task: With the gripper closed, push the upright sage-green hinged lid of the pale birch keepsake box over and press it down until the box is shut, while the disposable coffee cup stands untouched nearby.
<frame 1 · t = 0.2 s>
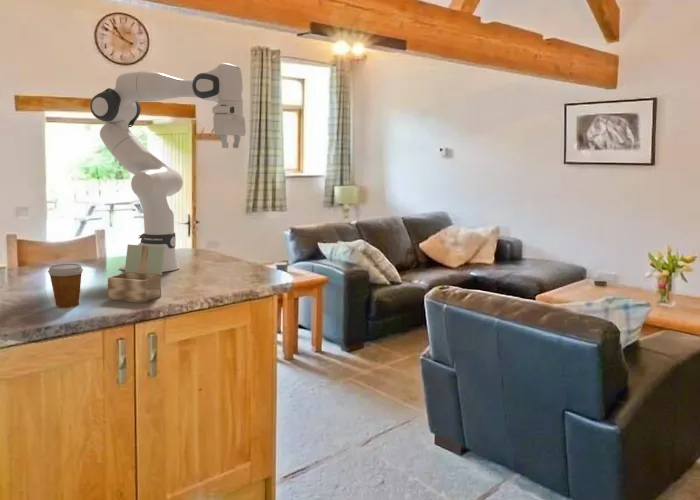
hand: (230, 148, 227), 48 cm above the counter, fingers open, 8 cm apart
disposable coffee cup: (67, 305, 186), on the counter
lid: (144, 259, 201), point 11 cm above the counter, hinge at 105.0°
keepsake box: (135, 298, 197), on the counter
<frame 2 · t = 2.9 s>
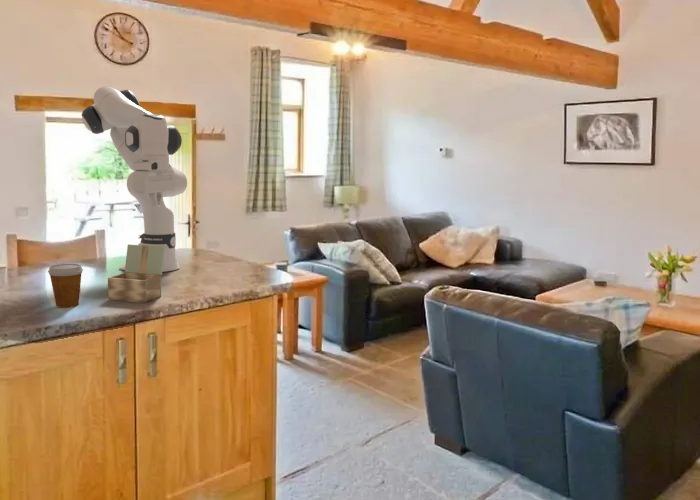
hand: (156, 206, 205), 28 cm above the counter, fingers closed
nothing on the counter moved.
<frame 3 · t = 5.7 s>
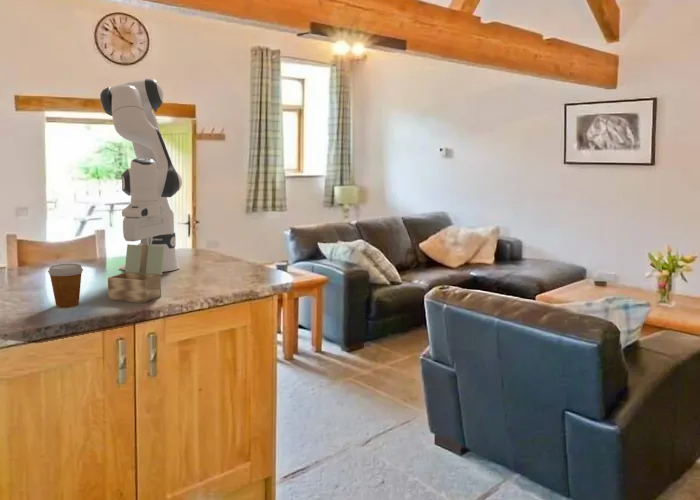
hand: (147, 251, 202), 14 cm above the counter, fingers closed, pressing on lid
lid: (144, 259, 200), point 11 cm above the counter, hinge at 103.4°, touching gripper
everything else where it was.
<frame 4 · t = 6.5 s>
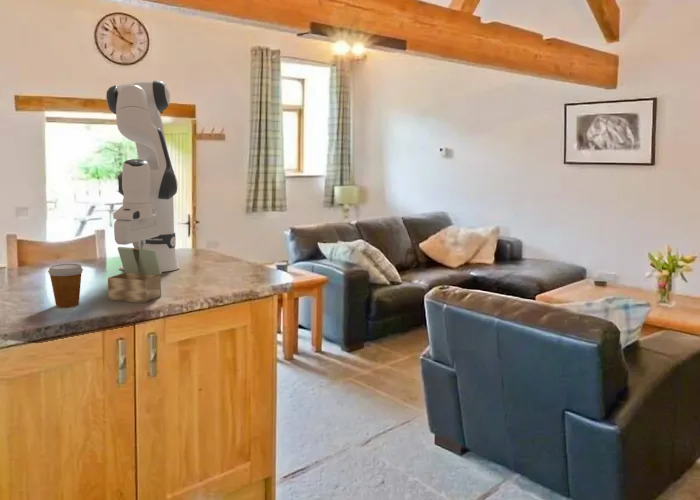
hand: (139, 254, 198), 14 cm above the counter, fingers closed
lid: (139, 260, 198), point 12 cm above the counter, hinge at 68.1°, touching gripper
everything else where it was.
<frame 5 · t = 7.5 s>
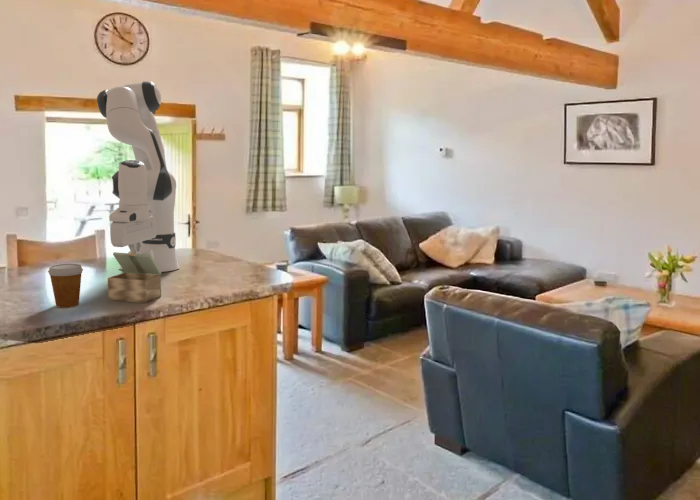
hand: (135, 256, 196), 13 cm above the counter, fingers closed
lid: (137, 263, 197), point 11 cm above the counter, hinge at 48.9°, touching gripper
everything else where it was.
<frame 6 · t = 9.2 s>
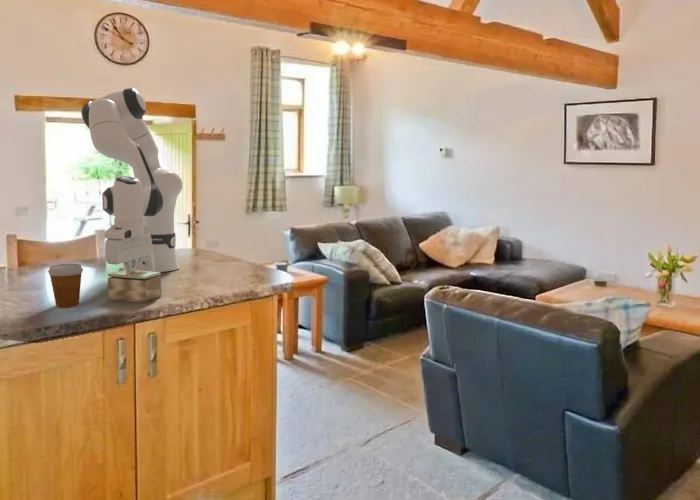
hand: (131, 273, 194), 8 cm above the counter, fingers closed, pressing on lid
lid: (134, 274, 195), point 8 cm above the counter, hinge at 2.2°, touching gripper
everything else where it was.
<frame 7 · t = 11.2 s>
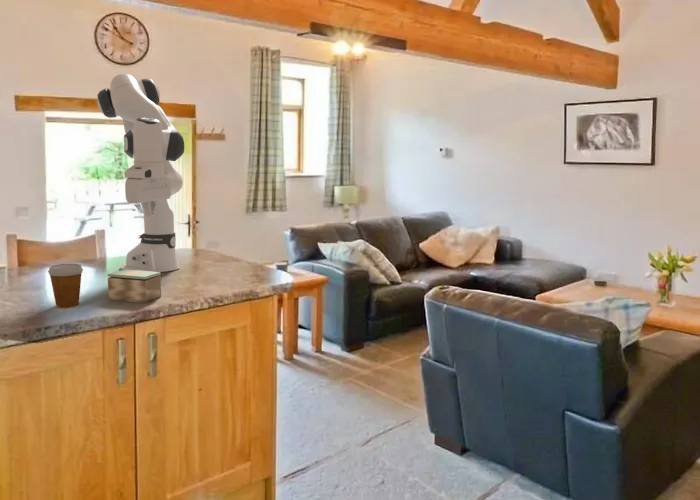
hand: (150, 215, 194), 26 cm above the counter, fingers closed
lid: (134, 274, 195), point 8 cm above the counter, hinge at 1.8°
everything else where it was.
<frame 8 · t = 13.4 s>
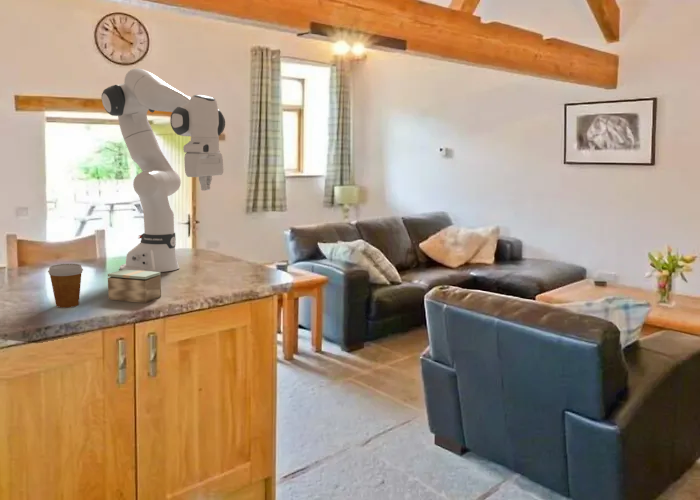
hand: (205, 190, 200), 34 cm above the counter, fingers closed
nothing on the counter moved.
at the end: lid at +2° (first picture: +105°); disposable coffee cup moved 0.2 cm from its start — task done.
